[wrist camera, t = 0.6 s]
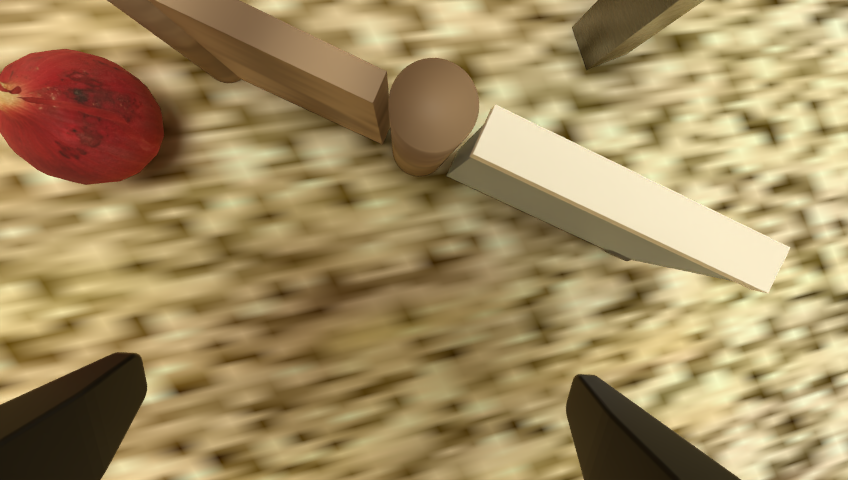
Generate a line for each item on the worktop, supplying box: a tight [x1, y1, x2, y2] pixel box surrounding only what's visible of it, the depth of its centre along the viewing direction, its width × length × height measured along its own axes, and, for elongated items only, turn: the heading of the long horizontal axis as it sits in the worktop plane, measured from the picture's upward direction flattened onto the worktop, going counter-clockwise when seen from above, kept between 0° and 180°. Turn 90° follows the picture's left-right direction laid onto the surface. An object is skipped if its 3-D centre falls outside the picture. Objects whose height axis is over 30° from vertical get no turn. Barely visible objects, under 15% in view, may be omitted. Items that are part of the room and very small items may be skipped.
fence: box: [108, 0, 479, 176], centre depth 18 cm, size 14×3×10 cm, turn 66°
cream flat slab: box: [446, 104, 790, 293], centre depth 19 cm, size 12×2×10 cm, turn 66°
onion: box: [0, 49, 164, 185], centre depth 19 cm, size 6×6×8 cm
